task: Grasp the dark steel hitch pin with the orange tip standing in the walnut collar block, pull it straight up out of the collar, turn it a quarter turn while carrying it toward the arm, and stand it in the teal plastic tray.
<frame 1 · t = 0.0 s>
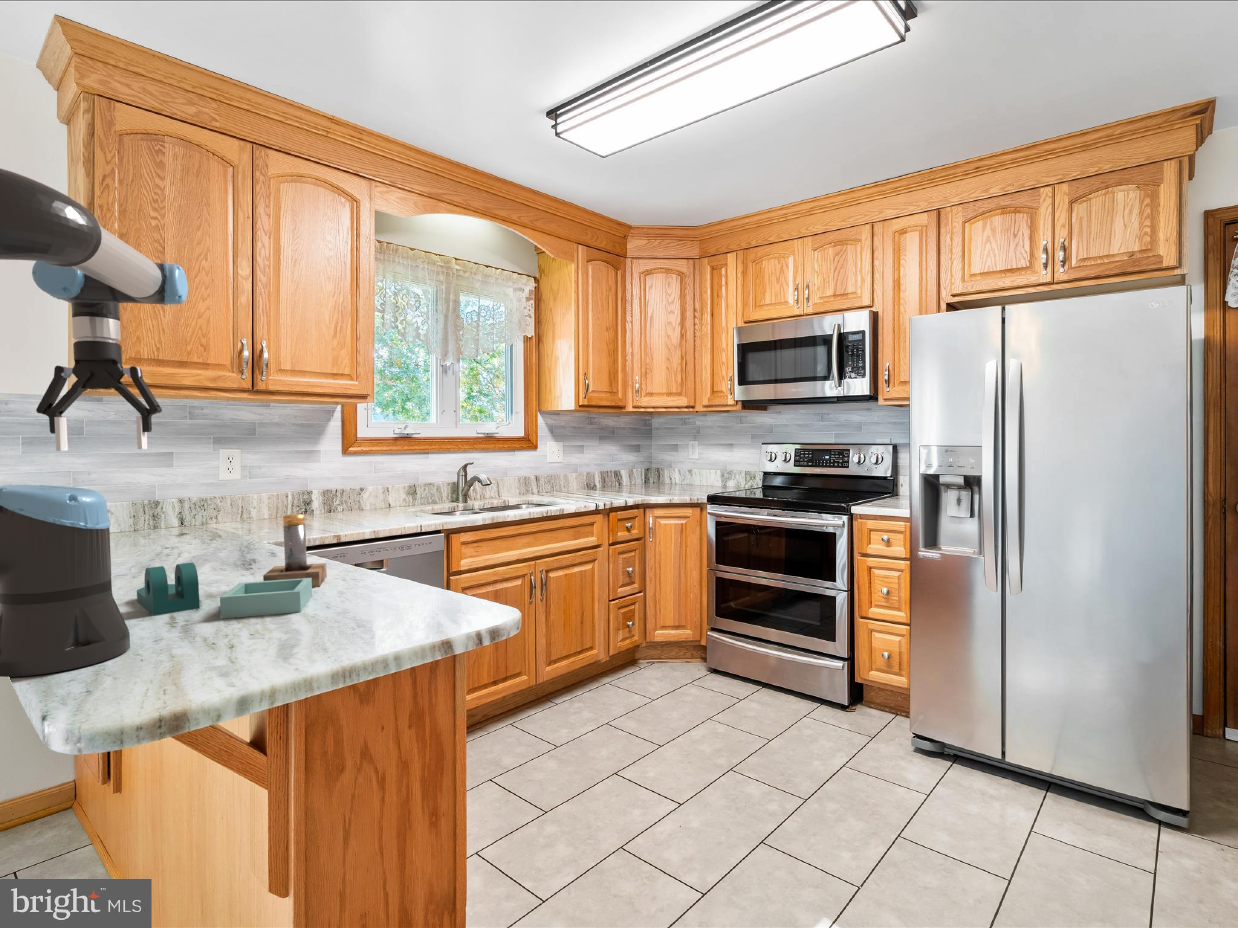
hand: (102, 450, 134), 28 cm above the countertop, fingers open, 13 cm apart
collar block: (296, 583, 137), on the countertop
hitch pin: (295, 549, 137), in the collar block
tray: (269, 606, 118), on the countertop
bracket: (165, 605, 122), on the countertop
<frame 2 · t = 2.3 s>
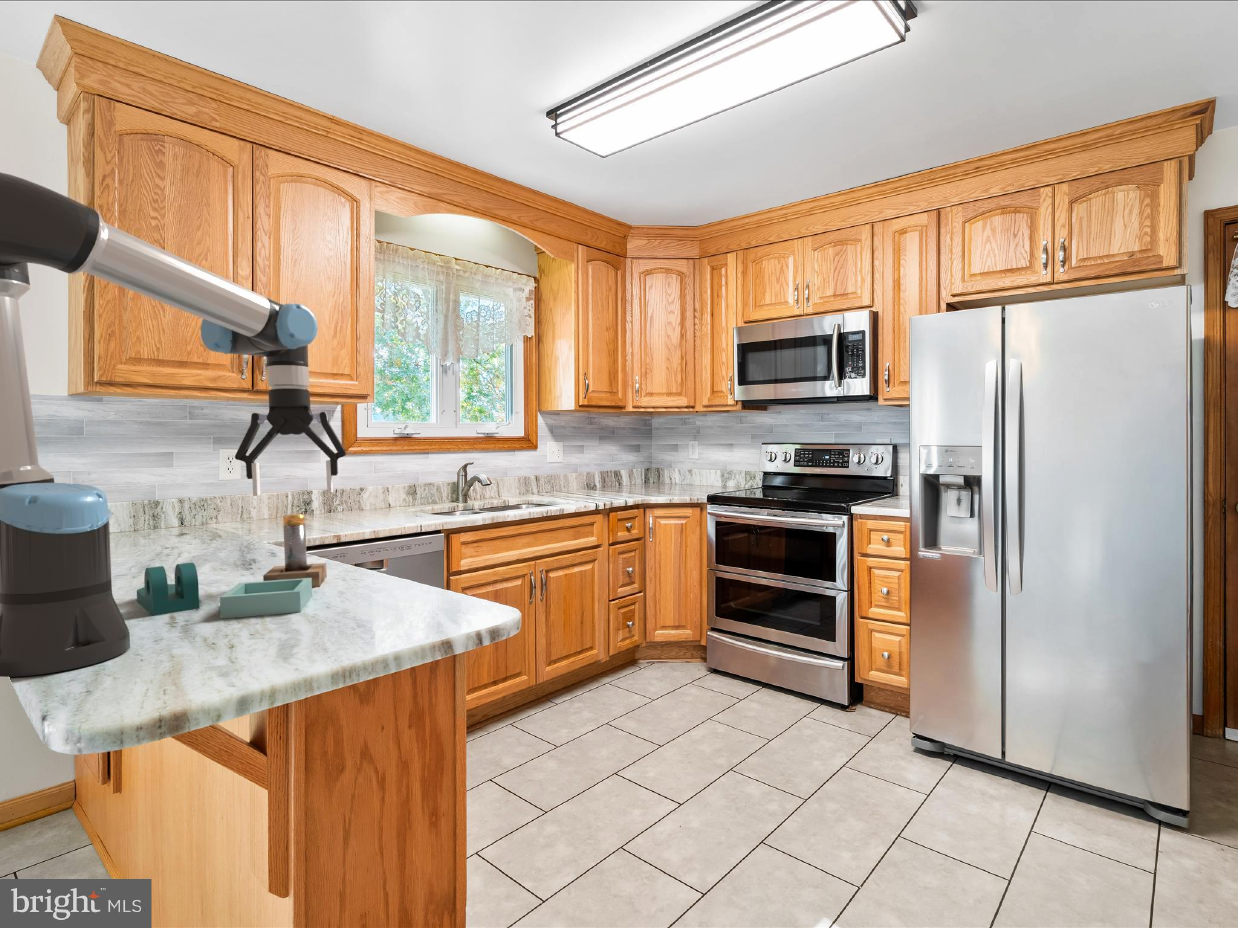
hand: (294, 493, 137), 18 cm above the countertop, fingers open, 13 cm apart
nothing on the countertop moved.
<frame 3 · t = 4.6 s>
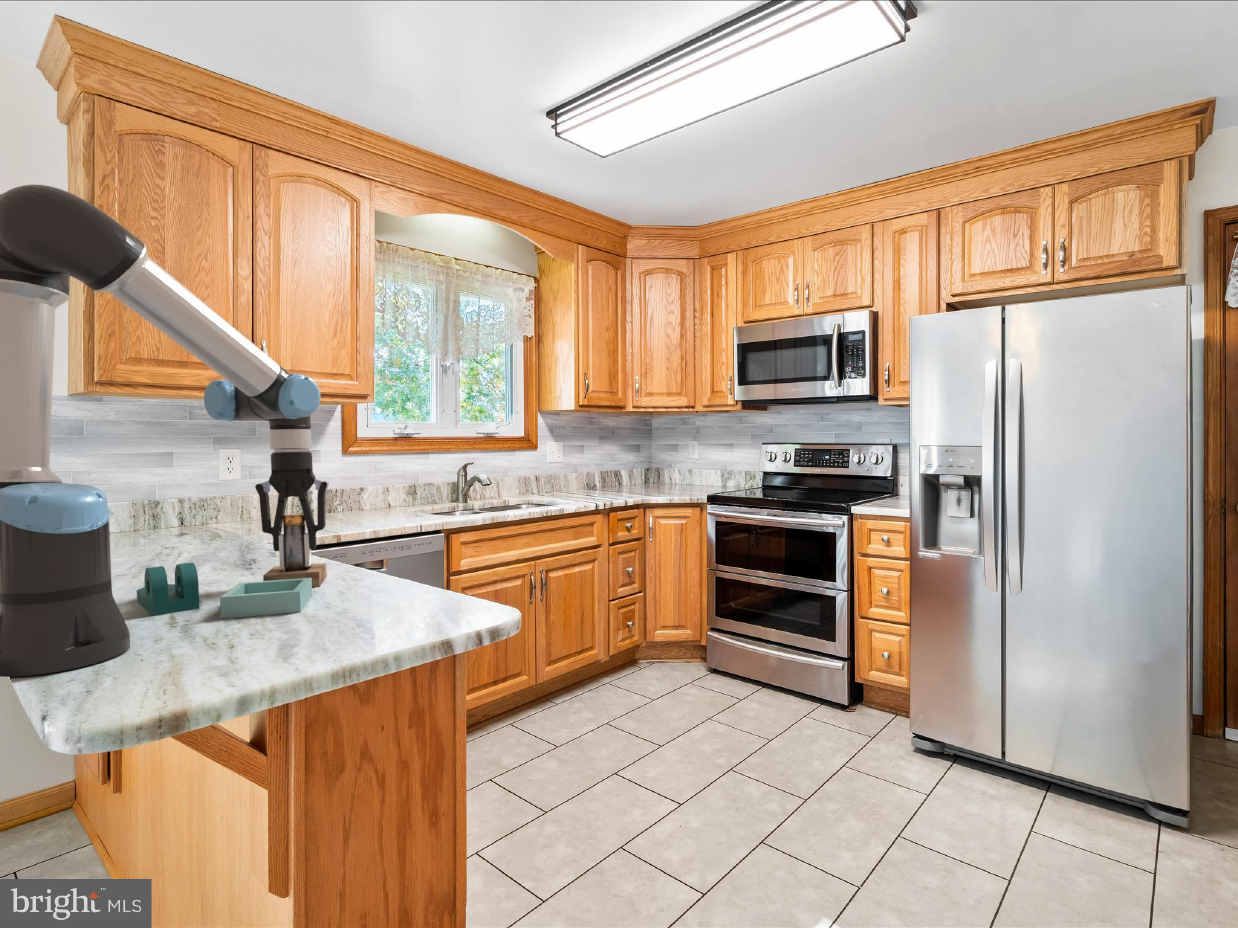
hand: (295, 565, 137), 4 cm above the countertop, fingers closed on hitch pin, 4 cm apart
hitch pin: (295, 549, 137), in the collar block, touching gripper
everything else where it was.
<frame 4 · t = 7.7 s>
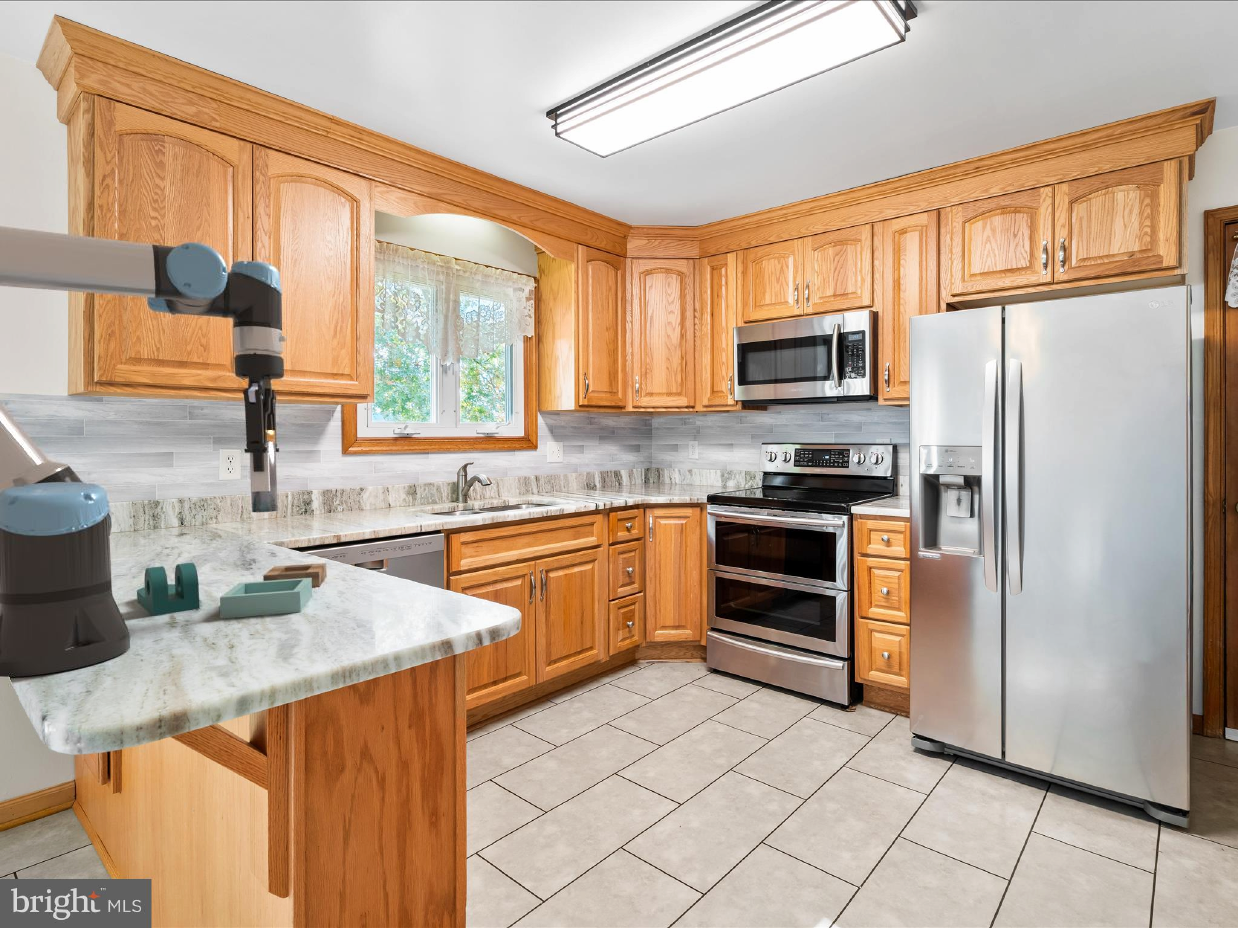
hand: (263, 490, 117), 20 cm above the countertop, fingers closed on hitch pin, 4 cm apart
hitch pin: (263, 470, 117), point 24 cm above the countertop, touching gripper
everything else where it was.
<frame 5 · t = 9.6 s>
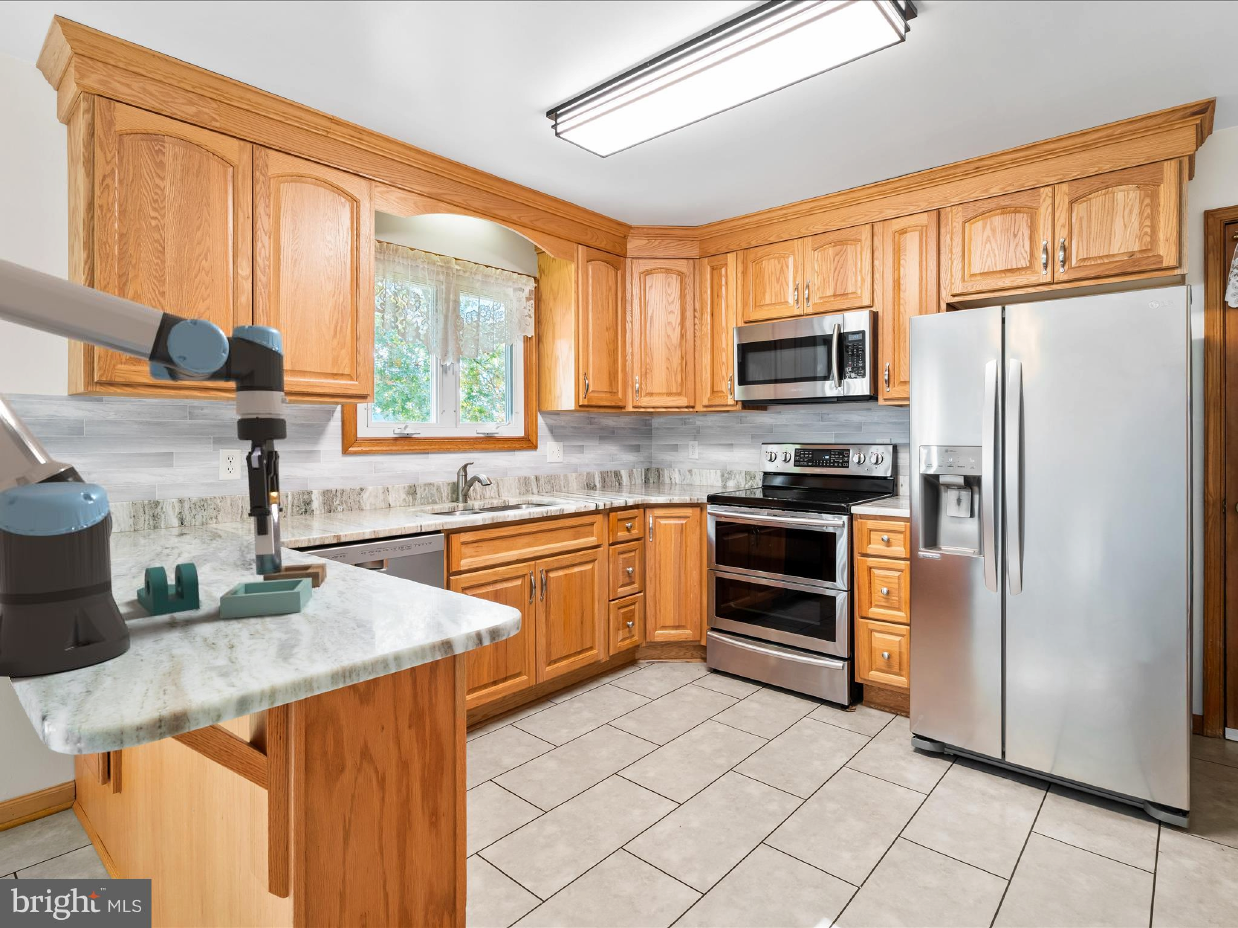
hand: (267, 551, 118), 10 cm above the countertop, fingers closed on hitch pin, 4 cm apart
hitch pin: (267, 532, 118), point 13 cm above the countertop, touching gripper
everything else where it was.
when the fingers open (6 cm above the countertop, at t = 11.0 s): hitch pin drops 1 cm, resting on tray.
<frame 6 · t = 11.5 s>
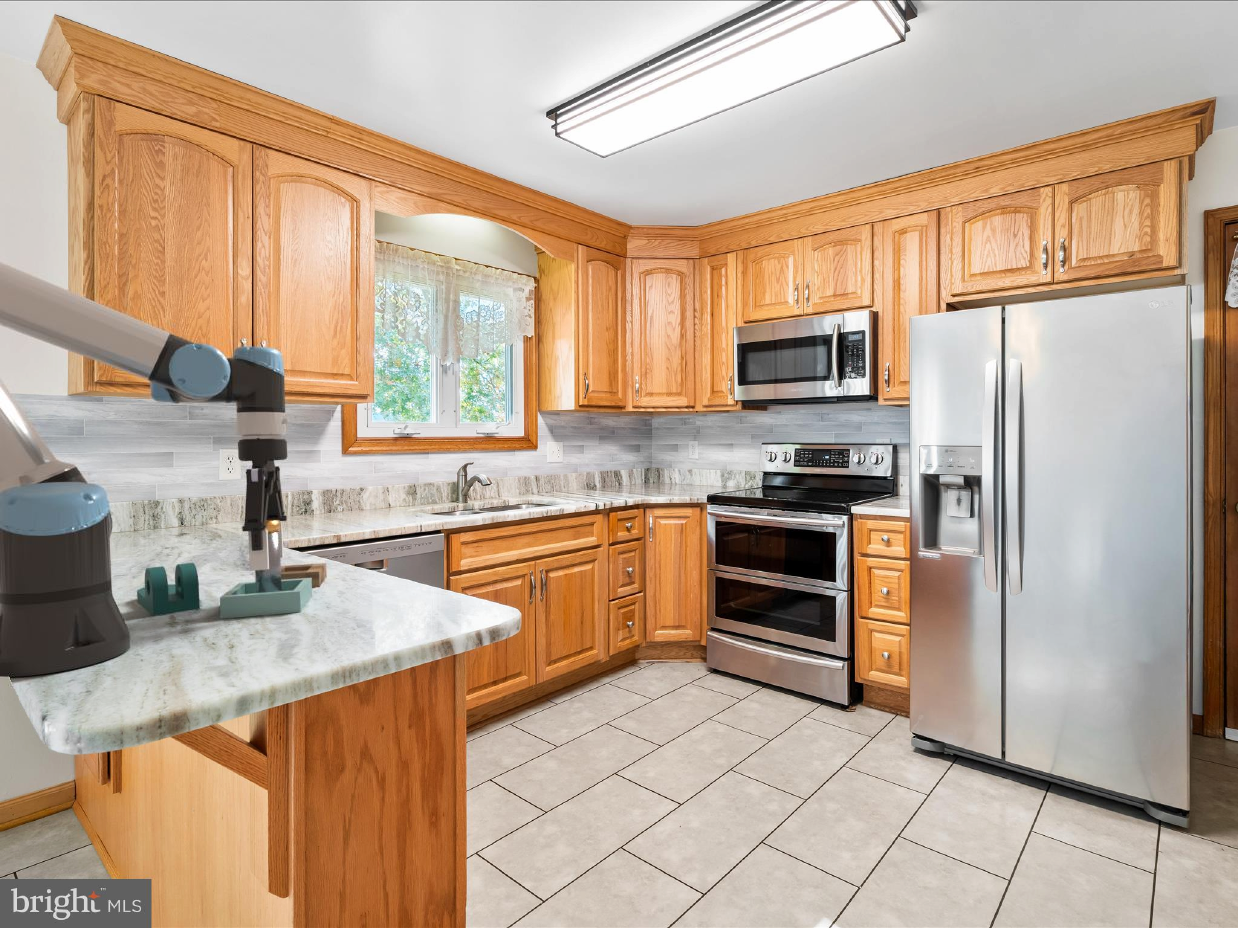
hand: (267, 563, 118), 8 cm above the countertop, fingers open, 11 cm apart
hitch pin: (267, 561, 118), in the tray, point 8 cm above the countertop
everything else where it was.
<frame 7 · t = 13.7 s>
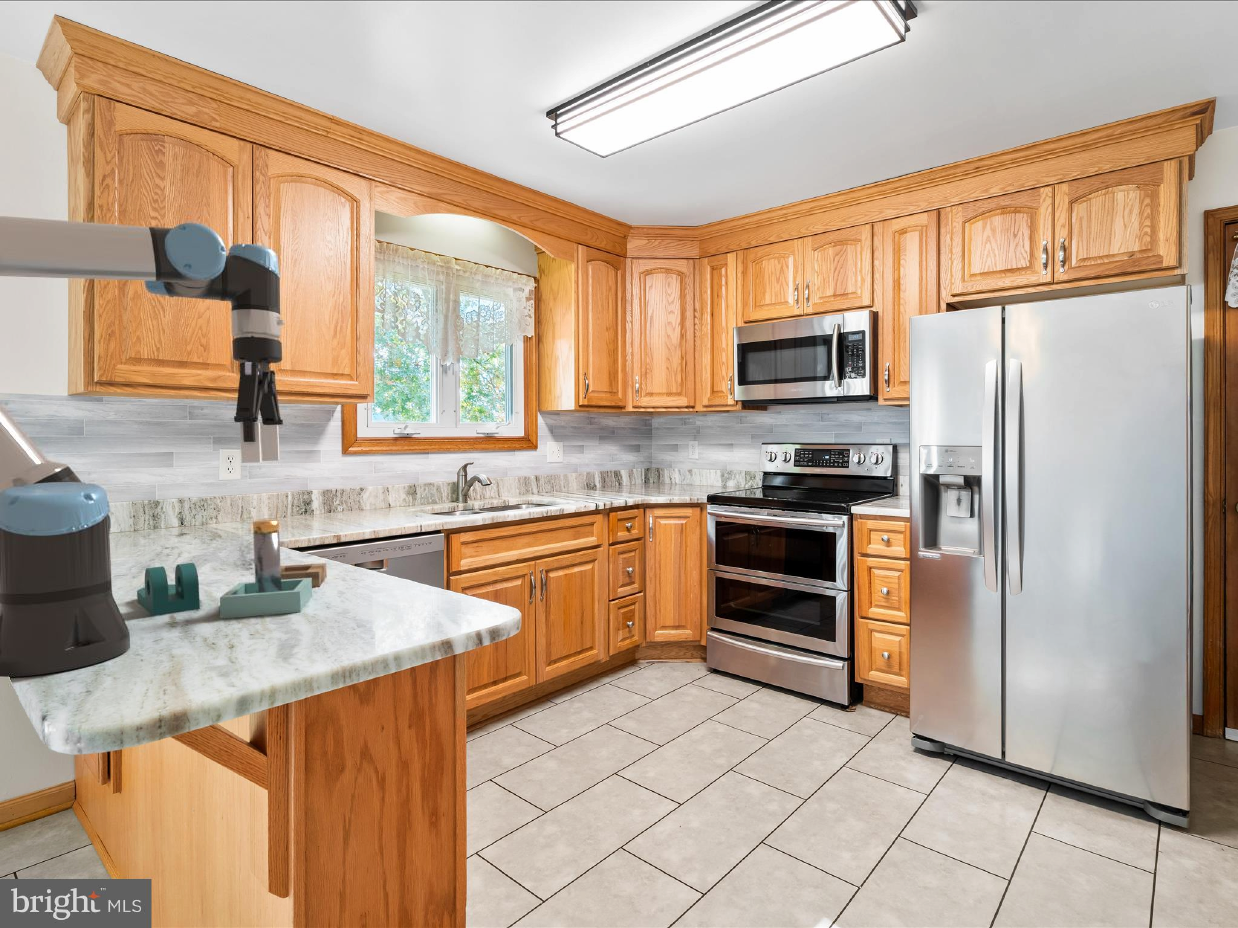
hand: (261, 461, 117), 25 cm above the countertop, fingers open, 13 cm apart
nothing on the countertop moved.
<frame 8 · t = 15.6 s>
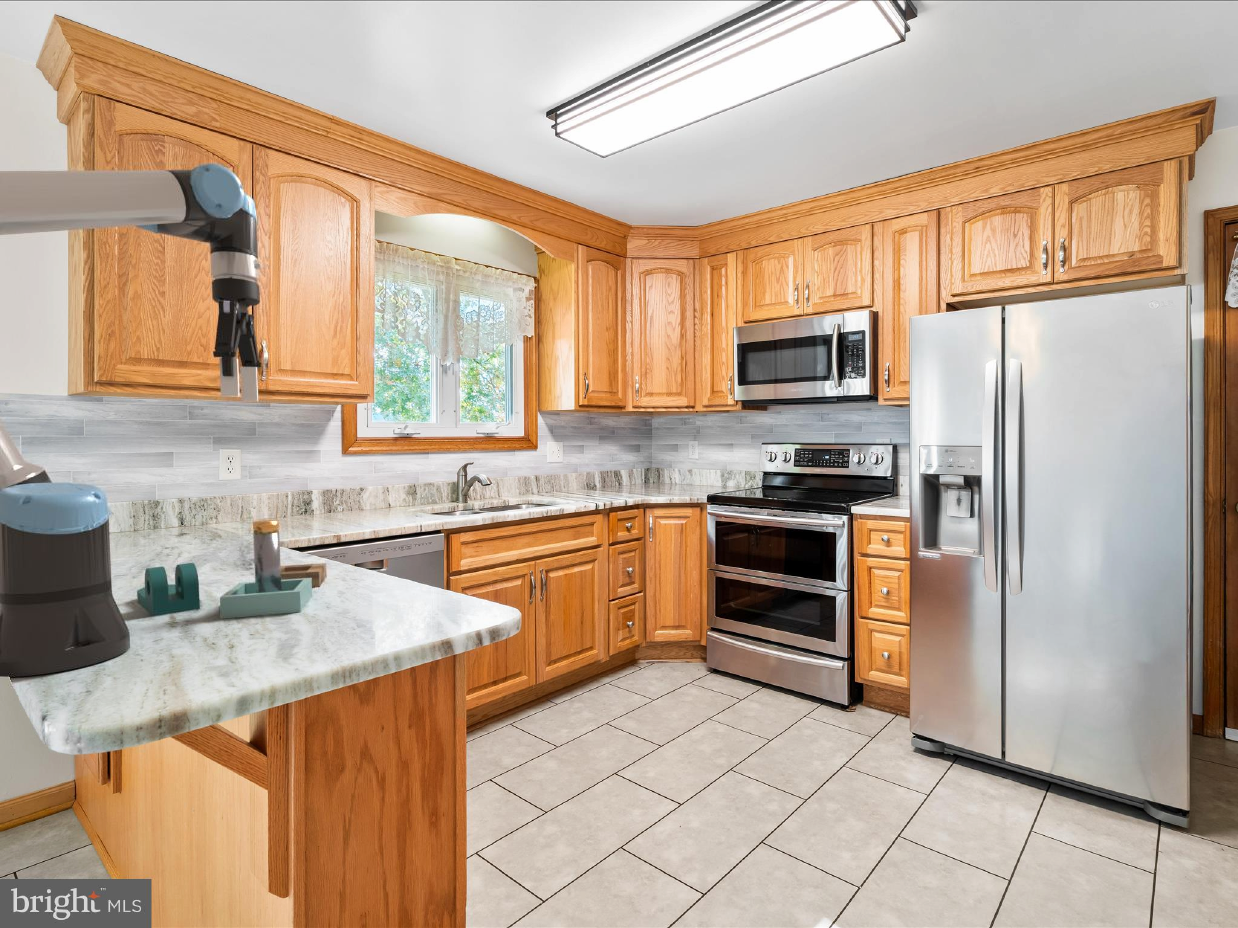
hand: (240, 399, 123), 37 cm above the countertop, fingers open, 13 cm apart
nothing on the countertop moved.
at the end: hitch pin inside the target area on the tray (0.0 cm from its centre), point 8.0 cm above the tray's base; hitch pin touching tray; the gripper is holding nothing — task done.
